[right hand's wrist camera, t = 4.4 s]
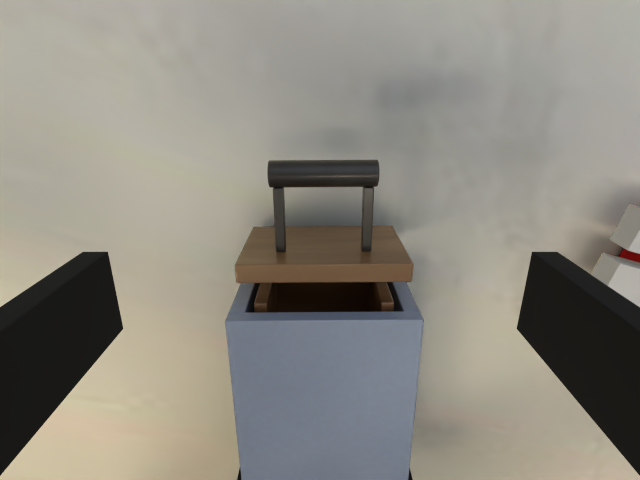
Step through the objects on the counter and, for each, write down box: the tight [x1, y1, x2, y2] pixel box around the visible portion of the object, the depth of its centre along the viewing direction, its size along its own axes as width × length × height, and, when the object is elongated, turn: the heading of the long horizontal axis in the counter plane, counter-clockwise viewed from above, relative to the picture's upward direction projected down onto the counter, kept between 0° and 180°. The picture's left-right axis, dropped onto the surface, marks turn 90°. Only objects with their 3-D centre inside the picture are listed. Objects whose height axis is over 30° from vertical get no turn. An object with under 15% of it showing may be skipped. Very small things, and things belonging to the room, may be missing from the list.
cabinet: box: [225, 282, 424, 480], centre depth 30 cm, size 20×12×9 cm, turn 0°
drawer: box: [235, 160, 413, 313], centre depth 28 cm, size 24×10×7 cm, turn 0°
